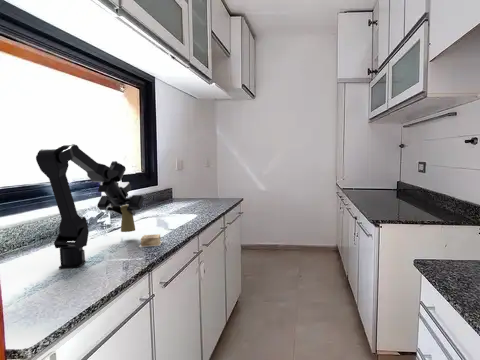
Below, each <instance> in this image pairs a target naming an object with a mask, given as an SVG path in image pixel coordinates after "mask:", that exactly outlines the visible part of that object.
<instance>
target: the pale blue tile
mask: <svg viewBox="0 0 480 360" xmlns="http://www.w3.org/2000/svg"><path fill="white" fill-rule="evenodd" d="M160 241H161V242H160V243H159V245H154V246H153V247H161V244H162V243H163V240H160ZM138 247H139V248H143V247H148V246H141V244H139V246H138Z"/></svg>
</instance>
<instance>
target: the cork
mask: <svg viewBox="0 0 480 360" xmlns="http://www.w3.org/2000/svg"><path fill="white" fill-rule="evenodd" d="M120 207H121V212H122V215H121V222H120V223H121V225H120V232H121V233H130V232H135V231H136V226H135V221H134V215H132V214H131V213H129V212H128V211H127V208H128V205H127V204H126V205H122V206H120Z"/></svg>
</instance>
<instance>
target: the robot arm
mask: <svg viewBox="0 0 480 360" xmlns="http://www.w3.org/2000/svg"><path fill="white" fill-rule="evenodd" d="M35 160H36V163H37V166H38V167H39V170H40V171H41V172H42V173H43V174H44V175H45V176H46V177H47V178H48V180H49V183H50V187H51V189H52V193H53V195H54V198H55V201H56V206H57V208H58V211H59V215H60V222H59V224H58V230H59V233H58V235H57V237H56V238H55V240H54V242H53V245H54V248H55V249H59V256H60V257H59V258H60V265H59V266H58V269H69V268H72V269H73V268H80V267H81V266H82V265H84V264H85V263H86V256H85V255H86V254H85V253H86V252H85V249H84V247H86V246H87V245H88V239H89V225H88V222H87V218H86V216H80V215H79V214H78V211H77V208H76V205H75V201H74V198H73V194H72V191H71V187H70V184H69V180H68V177H67V171H68V168H69V161H71V162H73V164H75V165H77V166H78V167H79V168H81V169H82V170H83V171H84V172H86V175H87V177H88V178H89V179H90V180H91V182H93V183H99V185H98V189H97V192H98V193H104V194H105V195H101V196H100V199H99V200H98V203H97V205H96V206H97V208H98V209H99V211H108V212H111V213H114V214H118V215H120V216H122V212H121V206H122V205H128V208H127V211H128V212H129V213H131V214H132V215H133V216H135V215H136V211H139V210H140V209H141V208H142V205H143V202H144V200H145V198H144V196H143V195H142V194H133V195H131V196H130V197H128V196H129V192H130V191H131V190H132V186H131V184H130V182H129V181H122V178H123V176H124V174H125V172H126V167H125V165H123V164H121V163H119V162H118V161H116V160H115V161H111V163H110V166H109V165H106V164H104V163H99V162H97V161H96V160H95V159H93V157H91V156H89V155H88V154H87V153H85V151H83V150H82V149H81V148H80V147H79V146H78V145H77V144H75V143H71V144H69V143H67V144H62V145H60V146H57V147H53V148H42V149H40V150H38V152H37V153H36V156H35ZM120 181H122V182H120Z"/></svg>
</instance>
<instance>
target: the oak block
mask: <svg viewBox="0 0 480 360" xmlns="http://www.w3.org/2000/svg"><path fill="white" fill-rule="evenodd" d="M161 241H162V240H161V233H160V234H158V233H157V234H143V236H142V237H141V238H140V245H141V246H147V247H155V246H154V245H159V243H160V242H161Z"/></svg>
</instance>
